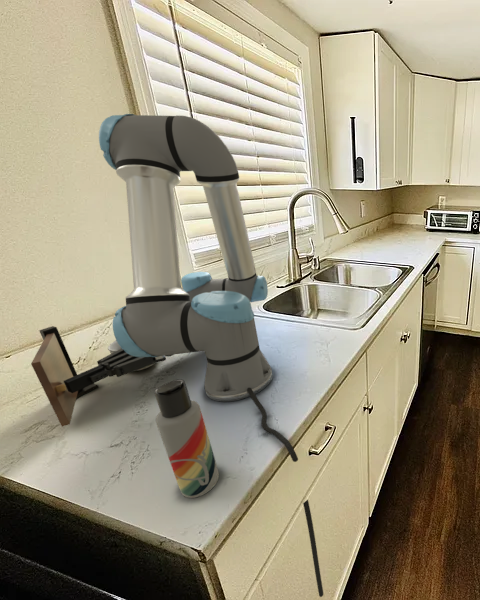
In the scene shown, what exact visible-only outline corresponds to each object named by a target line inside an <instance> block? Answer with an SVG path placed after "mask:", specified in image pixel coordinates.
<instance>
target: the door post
mask: <svg viewBox="0 0 480 600" xmlns="http://www.w3.org/2000/svg"><path fill="white" fill-rule="evenodd" d="M38 331H39V333H40V336H41V338H42V341H44V339H45V337H46V335H47V334H52V333H54V334H55V336H56V338H57V341H58V343H59V345H60V347H61V350H62V352H63V354H64V357H65V359H66V361H67V363H68V366H69V368H70V370H71V372H72V375H73V377H74V376H76V375H78V373H77V371H76V369H75V366H74V363H73V362H72V359H71V356H70V355H69V353H68V350H67V347H66V346H65V343H64V341H63V339H62V337H61V334H60V332H59V330H58V327H57V326H53V325H52V326H49V327H45V328H42V329H39V330H38ZM98 388H99V385H98V384H97V383H93V384H91V385H89V386H87V387H85V388H83V389H81V390H79V391H78V394H77V398H76V399H78V398H79V397H81V396H84V395H86V394H87V393H90V392H93V391H94V390H97V389H98Z"/></svg>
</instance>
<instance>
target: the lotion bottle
mask: <svg viewBox="0 0 480 600" xmlns="http://www.w3.org/2000/svg"><path fill="white" fill-rule="evenodd" d="M154 396H155V399H156V403H157V405H158V408H159V413H158V414H157V415H156V417H155V423H156V426H157V431H158V432H159V435H160V438H161V441H162V444H163V446H164V449H165V452H166V455H167V458H168V460H169V461H168V462H169V463H170V466H171V469H172V471H173V475H174V477H175V480H176V483H177V486H178V488H179V490H180V493H181V495H182V496H183V497H185V498H188V499H192V498H193V499H194V498H198V497H201V496H203V495H205V494H207V493H208V492H209V491H211V490H212V489H213V488H214V487H215V486H216V484H217V483H218V481H219V478H220V476H219V475H220V474H219V469H218V465H217V462H216V458H215V454H214V452H213V448H212V445H211V440H210V438H209V434H208V430H207V426H206V424H205V420H204V417H203V413H202V410H201V406H200V404H199V403H198V402H197V401H195V400H191V397H190V393H189V391H188V388H187V385H186V382H185V380H184V379H174V380H172V381H169V382H167V383H164V384H162V385H160V386H159V387H157V388H156V389H155V390H154Z"/></svg>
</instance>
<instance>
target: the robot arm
mask: <svg viewBox="0 0 480 600" xmlns="http://www.w3.org/2000/svg"><path fill="white" fill-rule="evenodd" d="M98 130H99V131H98V143H99V144H98V145H99V148H100V150H101V151H102V152H103V154H102V156H103V158H104V160H105V161H106V163H107V164H108V165H109V166H110V167H111V168H112V169H113V170H115V173H116V175H117V176H118V177H119V178H120V179H122V180H123V181H124V182H125V186H126V187H125V189H126V200H127V201H126V203H127V214H128V226H129V241H130V254H131V268H132V283H133V290H132V291H131V292H130V293H129V294H127V295H126V296H125V305H124V306H122V307H120V308H118V309H117V310H116V311H115V312H114V316H113V318H112V332H113V335H114V338H115V340H116V341H117V342H118V344H119V346H120V347H121V349H119V350H118V351H116V352H114V353H112V354H111V353H110V354H108V355H106V356H104V357H102V358H101V359H98V360H97V361H96V364H97V366H94V367H92V368H89V369H87V370H85V371H83V372H81V373H77V375H76V376H74V377H71V378H69V379H67V380H64V383H65V385H66V388H67V390H68V391H69V392H71V393H74V392H76V391H79V390H81V389H83V388H85V387H87V386H89V385H91V384H93V383H94V384H97V382H100V381H102V380H104V379H106V378H108V377H110V378H111V377H114V376H116V377H117V378H120V377H123V376H125V375H126V376H127V375H128V374H131V373H134V372H137V371H136V370H138V369H141V368H144V367H146V366H149V365H151V364H154V363H155V364H157V363H160V362H164V361H166V360H167V358H166V357H172V356H175V355H180V354H181V355H182V354H190V353H191V354H192V353H198V352H203V353H204V355H205V359H206V369H205V378H204V382H203V383H204V390H205V395H206V396H207V397H208V398H209V399H210V400H213V401H217V402H235V401H239V400H244V399H247V398H251V400H252V401H253V403H254V404H255V406H256V408H257V409H258V411H259V412H260V414H261V422H260V424H261V428H262V430H263V431H264V432H266V433H268V434H270V435H271V436H274V437H275V438H276V439H277V440H278V441H279V442H281V444H283V446H284V447H285V448H286V450H287V452H288V453H289V454H288V455H289V456H290V458H291V461H292V462H294V463H296V462H298V460H299V458H298V454H297V453H296V450H295V449H294V447H293V445H292V444H291V442H290V441H289V440H288V439H287V438H286V437H285V436H284V435H283V434H282V433H280V432H279V431H277V430H276V429H274V428H271V427H269V426H268V424H267V420H268V419H267V418H268V415H267V411H266V409H265V407H264V406H263V404H262V403H261V402H260V400H259V398H258V397H257V396H256V395H257V394H258V393H259V392H261V391H262V390H265V388H266V387H268V385H269V384H270V383H271V381H272V379H273V370H272V367H271V365H270V363H269V361H268V360H267V358H266V356H265V355H264V354H263V352H262V350H261V348H260V343H259V337H258V331H257V326H256V321H255V312H254V311H253V308H252V304H251V303H256V302H261V301H265V300H266V299H267V298H268V293H269V289H268V288H269V287H268V281H267V279H266V277H265V276H264V275H257V270H256V265H255V261H254V256H253V252H252V247H251V243H250V239H249V233H248V229H247V225H246V221H245V220H246V219H245V216H244V212H243V207H242V203H241V199H240V198H241V197H240V193H239V188H238V185H237V183H238V182H239V181H240V174H239V170H238V166H237V163H236V160H235V158H234V155H232V153H231V151H230V149H229V148H228V146H227V144H226V143H225V142H224V141H223V139H222V138H221V137H220V135H218V134H217V133H216V132H215V131H214V130H213V129H212V128H211V127H209V125H207V124H206V123H204V122H202V121H200V120H198V119H196V118H194V117H191V116H187V115H148V114H147V115H145V114H144V115H143V114H142V115H141V114H133V113H124V114H114V115H110V116H108V117H106V118H104V120H103V121H102V122H101V124H100V126H99V129H98ZM181 172H193V174H194V177H195V180H196V182H197V183H198V184H199V185H201V186H202V188H203V190H204V195H205V198H206V203H207V206H208V210H209V212H210V216H211V220H212V224H213V226H214V231H215V235H216V238H217V242H218V245H219V249H220V253H221V256H222V259H223V263H224V267H225V270H226V274H227V277H225V278H213V277H212V275H211V273H209V272H208V271H195V272H190V273H187V274H184V275H183V276H182V277H181V270H180V257H179V244H178V242H179V241H178V229H177V217H176V205H175V204H176V203H175V194H174V192H175V191H174V190H175V189H174V188H175V187H177V186H178V185H179V184H180V183H181ZM155 364H154V365H155ZM138 371H139V370H138ZM302 504H303V505H302V506H303V509H304V514H305V519H306V524H307V530H308V536H309V543H310V549H311V554H312V561H313V567H314V573H315V579H316V587H317V591H318V597H320V598H322V597H323V596H324V588H323V582H322V576H321V569H320V563H319V562H320V561H319V555H318V548H317V542H316V541H317V540H316V535H315V529H314V523H313V519H312V513H311V508H310V507H311V506H310V502H309V499H306V500H305V501H304V502H303V503H302Z"/></svg>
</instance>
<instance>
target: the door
mask: <svg viewBox="0 0 480 600" xmlns="http://www.w3.org/2000/svg"><path fill="white" fill-rule="evenodd" d="M31 368H32V369H33V371H34V374H35V375H36V377H37V379H38V380H39V383H40V385H41V387H42V389H43V392H44V394H45V395H46V397H47V400H48V401H49V404H50V405H51V408H52V410H53V411H54V414H55V416H56V418H57V420H58V422H59V424H60V426H61V428H64V427H65V426H70V425H71V422H72V417H73V413H74V410H75V406H76V402H77V401H76V400H77V399H78V398H77V394H78V391H76V392H74V393H71V392H69V391H68V390H67V388H66V385H65V383H64V380H67V379H69V378H71V377H73V375H72V372H71V370H70V368H69V366H68V363H67V361H66V359H65V357H64V354H63V352H62V350H61V347H60V345H59V343H58V341H57V338H56V336H55V334H54V333H52V334H47V335H46V337H45V339H44V340H42V342H41V344H40V346H39V348H38V350H37V351H36V354H35V356H34V357H33V359H32V360H31Z"/></svg>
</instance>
